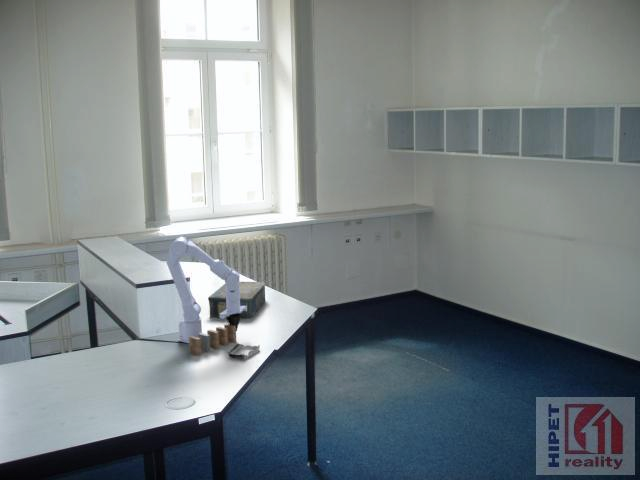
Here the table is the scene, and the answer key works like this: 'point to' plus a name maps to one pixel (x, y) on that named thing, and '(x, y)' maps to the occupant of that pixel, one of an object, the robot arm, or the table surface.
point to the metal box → (249, 296)
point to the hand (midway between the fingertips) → (234, 330)
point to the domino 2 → (205, 342)
